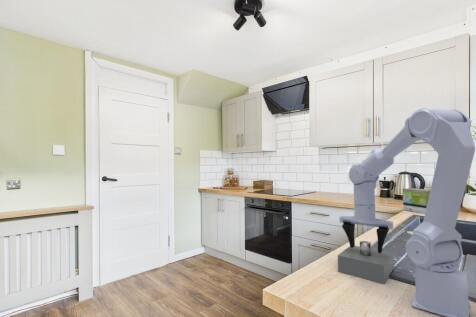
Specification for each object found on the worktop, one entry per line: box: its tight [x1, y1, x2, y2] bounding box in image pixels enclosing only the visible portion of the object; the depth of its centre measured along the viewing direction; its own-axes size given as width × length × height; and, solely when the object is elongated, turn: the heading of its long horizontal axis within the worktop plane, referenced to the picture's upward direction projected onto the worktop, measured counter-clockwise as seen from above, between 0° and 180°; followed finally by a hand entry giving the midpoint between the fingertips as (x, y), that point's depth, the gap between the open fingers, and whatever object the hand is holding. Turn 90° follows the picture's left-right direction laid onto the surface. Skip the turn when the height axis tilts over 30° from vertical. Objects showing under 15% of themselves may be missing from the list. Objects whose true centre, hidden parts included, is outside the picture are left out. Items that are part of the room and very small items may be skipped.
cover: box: [337, 240, 395, 285], centre depth 76 cm, size 12×12×8 cm
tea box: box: [402, 187, 431, 215], centre depth 164 cm, size 15×10×15 cm
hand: (365, 249), depth 76 cm, fingers open, 7 cm apart
